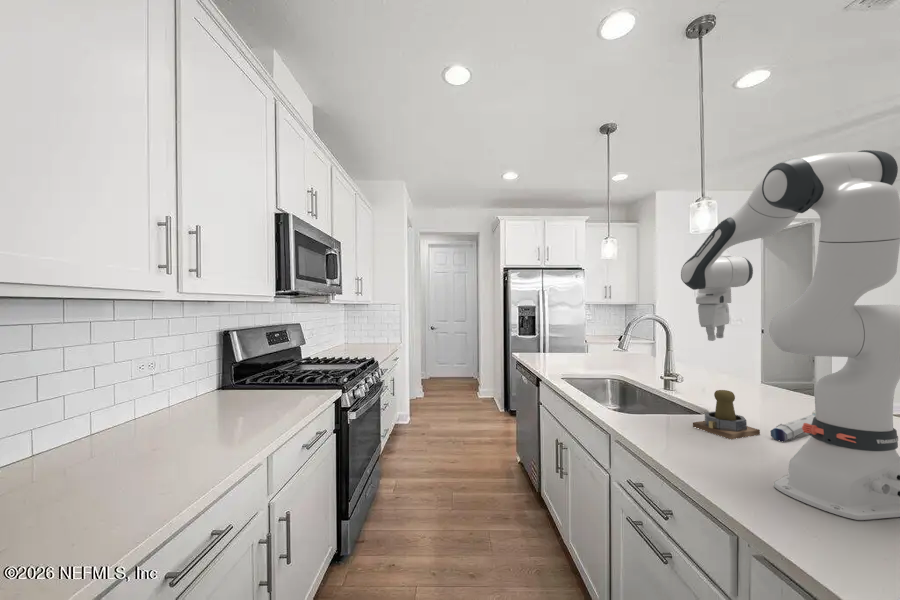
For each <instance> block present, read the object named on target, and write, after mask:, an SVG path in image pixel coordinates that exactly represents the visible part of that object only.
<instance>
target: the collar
mask: <svg viewBox="0 0 900 600" xmlns="http://www.w3.org/2000/svg"><path fill="white" fill-rule="evenodd" d="M735 415H736V420H734V421H733V420H724V419H718V418H715V411H709V412H708V411H707V412H704V421H705V423H706V425H707V426H709V428H712V429H714V428H715V429H719V430H725V431H734V432H739V431H745V430H747V426H748V425H747V419H746V418H745V417H744V416H743V415H739V414H736V413H735Z"/></svg>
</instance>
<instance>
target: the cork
mask: <svg viewBox="0 0 900 600" xmlns="http://www.w3.org/2000/svg"><path fill="white" fill-rule="evenodd" d="M713 396H714V399H715V400H716V404H715V418H718V419H724V420H733V421H734V420H736V415H737V414H736V411H735V406H734V405H735V404H734V401H736V400H735V399H736V395H735V393H734V392H732V391H731V390H728V389H727V390H725V389H718V390H717V389H716V390H715V391H714V395H713ZM735 414H736V415H735Z"/></svg>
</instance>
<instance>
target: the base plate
mask: <svg viewBox="0 0 900 600" xmlns="http://www.w3.org/2000/svg"><path fill="white" fill-rule="evenodd" d="M694 427H696V428H695V429H697V428H699V429H698V430H700V429H702V430H701V431H703V430H705V431H704V432H706V431H707V432H706V433H709V432H710V434H712V433H713V435H715V434H716V436H718V435H719V437H721V436H722V438H724V437H725V438H724V439H727V438H728V440H730V439H731V440H737V439H743V438H748V436H750V437H754V435H756V436H760V435H761V434H760V433H761V429H758V428H755V427H752V426H748V425H747V430H745V431H739V432H734V431H725V430H719V429H715V428H714V429H712V428H709V426H707V425H706V423H705V420H699V421H694V422H692V428H694ZM742 437H743V438H742ZM736 438H737V439H736Z"/></svg>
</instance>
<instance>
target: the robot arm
mask: <svg viewBox="0 0 900 600" xmlns="http://www.w3.org/2000/svg"><path fill="white" fill-rule="evenodd" d="M898 168H899V167H898V163H897V160H896V159H895V157H894V156H893V155H892V154H890V153H888V152H885V151H881V150H873V149H872V150H870V149H869V150H868V149H867V150H864V149H863V150H859V151H843V152H825V153H818V154H814V155H808V156H805V157H804V156H803V157H794V158H791V159H787V160H786V159H785V160H783V161H782V162H778V163H776V164H774V165H773V166H772V167H770V169H769V170H768V171H767V173H766V174H765V175H764V176H763V177H762V179H760V181H759V182H758V184H756V186H755V188H754V189H753V190H752V192H751V194H750V196H749V197H748V199H746V201H745V203H744V204H743V205H742V206H741V207H740V208H738V209H737V210H736V211H735V212H733V214H731V215H730V216H729V217H727V218H725V219H723V220H721V222H719V223H718V224H717V226H715V228H714V229H713V230H712V232H711V233H710V234H709V235H708V236H707V238H706V239H705V240H704V242H703V243H702V244H701V246H699V248H698V249H697V250H696V252H695V253H694V254H693V255H692V256H691V257H690V258H688V259H687V260H686V261H685V262H684V264H683V265H682V267H681V270H680V279H681V281H682V283H683V284H685V286H687V287H688V288H690V289H691V290H693V291H695V290H698V295H697V297H696V298H695V303H696V305H697V311H698V312H697V314H698V321H699V325H700V327H701V328H705V331H706V334H707V341H709V342H711V341H712V342H713V341H715V340H716V339H723V338H724V337H725V336H724V335H725V334H724V332H725V330H726V329H725V328H726V326H725V325H729V324H730V319H731V318H730V309H729V304H732V288H738V287H739V288H740V287H743V286H745V285H747V284H748V283H749V282H750V281H751V279H752V278H753V274H754V269H753V268H754V267H753V264H752V263H751V262H750V260H749V259H748V258H746V257H744V256H740V255H739V256H738V255H734V254H731V253H730V252H729V251H728V249H729V248H731V247H733V246H735V245H738V244H742V243H745V242H749V241H753V240H758V239H763V238H767V237H770V236H775V235H776V234H779V233H780V232H782V231H783V230H784V229H786V228H787V227H788V226H790V224H791V223H792V222H793V221H794V220H795V218H796V217H797V216H798V215H799V214H804V213H806V212H807V211H809V210H813V211H815V212H816V213H817V215H818V216H819V218H820V228H819V233H818V234H819V235H818V246H817V255H816V262H815V263H816V264H815V268H814V273H813V276H812V279H811V281H810V283H809V285H808V286H807V288H806V289H805V291H804V292H803V293H802V294H801V295H800V296H799V297H798V298H797V299H796V300H795V301H793V302H792V303H791V304H789V305H788V306H786V307H784V308H782V309H780V310H778V311H777V312H776V313H775V314H774V315H773V317H772V318H771V320H770V322H769V325H768V326H769V328H768V331H769V335H770V339H771V340H772V342H773V344H775V346H776V347H777V348H778V349H780V350H781V351H783V352H785V353H791V354H795V355H801V356H807V357H808V356H809V357H829V358H830V357H833V358H834V357H836V358H847V361H846V362H845V364H844V366H843V367H841V368H840V370H837V371H836V372H833V373H830V374H827V375H824V376H823V377H821V378H820V379H818V380H817V381H816V383H815V385H814V388H813V389H814V391H813V392H814V411H815V417H814V418H813V421H812V423H811V425H810V424H808V423H804V424H803V426H802V430H803V432H802V433H805V434H809V435H810V437H809V438H808V440H807V441H806V442H805V443H804V444H803V445H802V446H801V447H800V448H799V449H798V451H797V452H796V453H795V454H794V455H793V456H792V457H791V459H790V460H789V463H788V474H787V475H785V476H783V477H780V478H778V479H776V480H775V481H773V482H774V483H773V487H774V488H775V489H777V490H778V491H780V493H783V494H785V495H786V496H788V497H791V498H793V499H795V500H797V501H800V502H802V503H804V504H807V505H809V506H812V507H814V508H816V509H820V510H822V511H825V512H828V513H830V514H835V515H837V516H840V517H844V518H848V519H852V520H857V521H864V520H865V521H867V520H878V519H879V520H881V519H887V518H889V519H890V518H900V455H899V453H898V452H897V450H896V449H898V448H899V436H898V433H897V429H896V428H894V399H895V397H894V396H895V392H896V391H895V390H896V388H897V385H898V382H899V381H900V305H898V304H897V305H896V304H856V302H857V301H858V300H859V299H861V297H862V296H864V295H865V294H867V293H868V292H871V291H872V290H876V289H878V288H880V287H882V286H885V285H887V284H888V283H890V282H891V281H892V280H893V278H894V277H895V275H896V274H897V271H898V262H899V254H900V194H899V191H898V190H897V188H896V187H895V186H893V185H894V183H895V181H896V179H897V178H898V171H899V170H898ZM715 330H716V332H715Z"/></svg>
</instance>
